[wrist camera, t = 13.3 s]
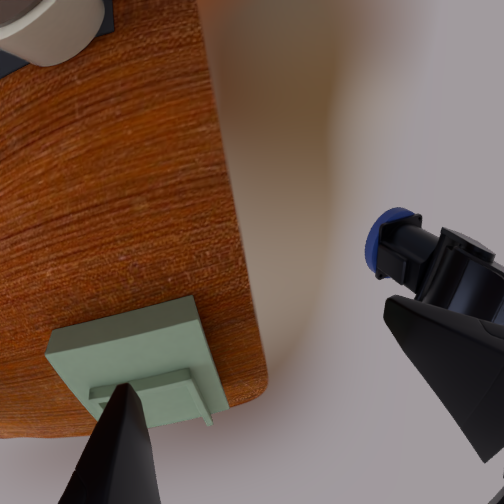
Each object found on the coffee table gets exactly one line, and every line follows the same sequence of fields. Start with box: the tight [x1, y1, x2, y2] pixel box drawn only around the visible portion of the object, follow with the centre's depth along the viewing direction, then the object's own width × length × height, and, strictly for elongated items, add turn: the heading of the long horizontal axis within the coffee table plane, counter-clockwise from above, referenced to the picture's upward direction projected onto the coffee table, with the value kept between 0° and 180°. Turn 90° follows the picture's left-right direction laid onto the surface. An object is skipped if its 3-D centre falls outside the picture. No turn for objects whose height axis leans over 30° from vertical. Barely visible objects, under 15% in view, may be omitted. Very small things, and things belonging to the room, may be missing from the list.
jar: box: [0, 0, 105, 66], centre depth 7 cm, size 6×6×8 cm
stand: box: [45, 295, 230, 428], centre depth 20 cm, size 12×11×4 cm
